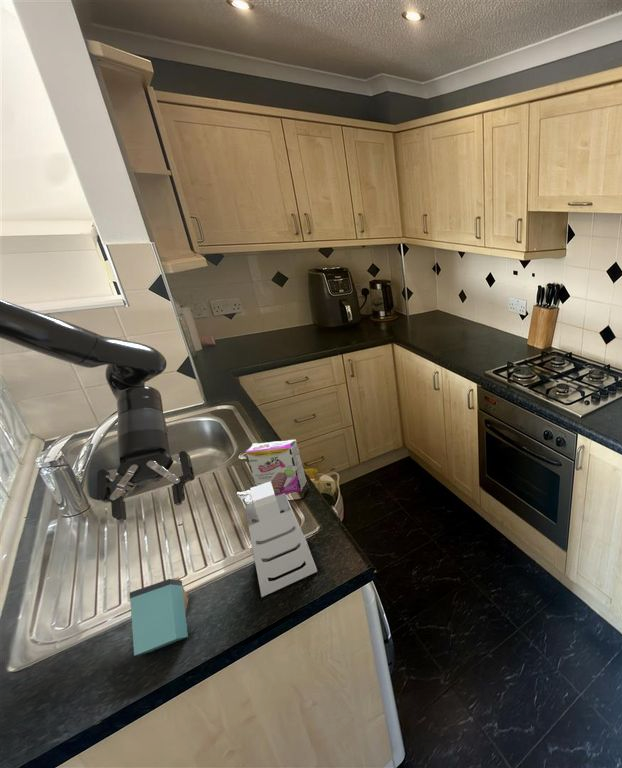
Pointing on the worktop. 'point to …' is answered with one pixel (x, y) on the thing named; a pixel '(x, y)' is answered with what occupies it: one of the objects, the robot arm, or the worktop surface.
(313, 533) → the worktop surface
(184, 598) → the prop block
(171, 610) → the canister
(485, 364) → the worktop surface
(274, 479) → the candy bar box
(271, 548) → the grater
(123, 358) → the robot arm
